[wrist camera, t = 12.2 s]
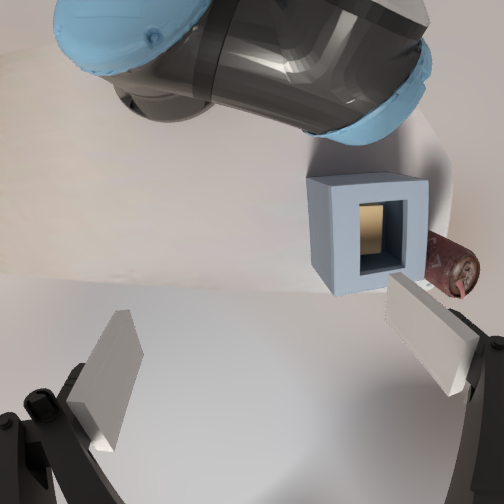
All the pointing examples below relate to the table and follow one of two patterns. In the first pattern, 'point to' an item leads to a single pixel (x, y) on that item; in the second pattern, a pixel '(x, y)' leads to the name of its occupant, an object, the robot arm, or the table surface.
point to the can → (450, 266)
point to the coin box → (348, 229)
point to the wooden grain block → (370, 227)
